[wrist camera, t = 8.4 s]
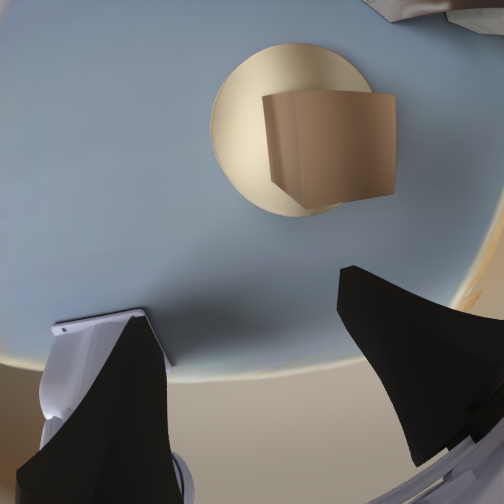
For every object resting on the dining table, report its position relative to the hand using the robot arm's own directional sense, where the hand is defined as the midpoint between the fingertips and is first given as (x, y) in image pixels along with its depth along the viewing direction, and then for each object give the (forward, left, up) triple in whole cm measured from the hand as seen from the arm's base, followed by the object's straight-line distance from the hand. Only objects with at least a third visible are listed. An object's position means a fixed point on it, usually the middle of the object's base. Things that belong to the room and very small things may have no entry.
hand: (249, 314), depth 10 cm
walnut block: (+6, +5, -8) cm, 11 cm away
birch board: (+6, +5, -10) cm, 13 cm away
